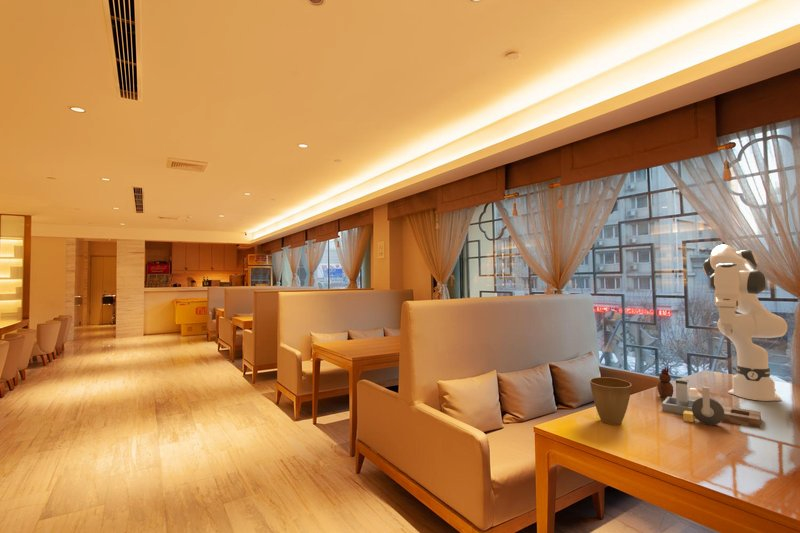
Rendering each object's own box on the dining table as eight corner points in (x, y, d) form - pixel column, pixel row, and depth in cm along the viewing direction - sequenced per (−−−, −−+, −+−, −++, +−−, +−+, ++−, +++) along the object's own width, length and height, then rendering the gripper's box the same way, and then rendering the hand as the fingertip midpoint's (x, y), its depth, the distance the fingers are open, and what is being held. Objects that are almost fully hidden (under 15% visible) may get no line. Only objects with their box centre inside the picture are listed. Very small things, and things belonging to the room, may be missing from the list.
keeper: (722, 412, 170) (722, 405, 170) (760, 419, 162) (760, 411, 162) (719, 420, 162) (719, 413, 162) (759, 427, 153) (759, 419, 153)
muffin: (699, 406, 179) (699, 390, 179) (683, 403, 184) (682, 387, 184) (703, 403, 183) (702, 387, 184) (687, 400, 188) (686, 385, 188)
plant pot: (582, 418, 166) (581, 379, 166) (608, 413, 172) (607, 375, 172) (614, 431, 152) (613, 388, 153) (641, 425, 158) (640, 384, 158)
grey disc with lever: (685, 417, 165) (683, 380, 166) (725, 425, 156) (723, 386, 157) (682, 422, 160) (681, 384, 161) (723, 430, 152) (722, 389, 152)
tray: (668, 403, 184) (667, 396, 184) (703, 409, 175) (703, 402, 175) (662, 410, 174) (662, 403, 174) (699, 417, 166) (699, 409, 166)
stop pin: (678, 406, 178) (677, 378, 178) (689, 408, 175) (688, 379, 175) (676, 408, 175) (675, 380, 175) (687, 410, 172) (686, 381, 172)
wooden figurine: (675, 399, 189) (674, 367, 189) (662, 399, 190) (660, 367, 190) (669, 395, 195) (668, 364, 196) (655, 395, 196) (654, 364, 197)
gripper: (720, 299, 180) (721, 331, 180) (715, 302, 165) (716, 336, 165) (739, 300, 176) (740, 332, 175) (735, 303, 161) (737, 337, 160)
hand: (728, 334), depth 170 cm, fingers open, 8 cm apart
